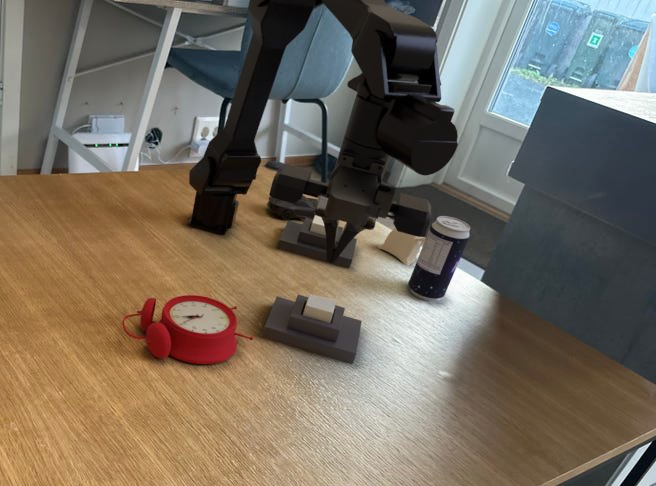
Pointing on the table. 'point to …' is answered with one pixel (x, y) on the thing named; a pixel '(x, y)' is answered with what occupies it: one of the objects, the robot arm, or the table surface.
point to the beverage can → (439, 258)
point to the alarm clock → (190, 329)
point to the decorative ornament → (403, 246)
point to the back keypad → (313, 243)
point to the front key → (319, 308)
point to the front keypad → (313, 330)
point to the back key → (318, 225)
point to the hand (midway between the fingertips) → (330, 262)
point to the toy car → (293, 208)
